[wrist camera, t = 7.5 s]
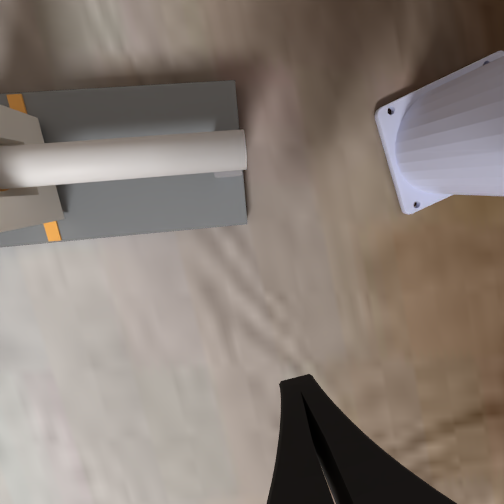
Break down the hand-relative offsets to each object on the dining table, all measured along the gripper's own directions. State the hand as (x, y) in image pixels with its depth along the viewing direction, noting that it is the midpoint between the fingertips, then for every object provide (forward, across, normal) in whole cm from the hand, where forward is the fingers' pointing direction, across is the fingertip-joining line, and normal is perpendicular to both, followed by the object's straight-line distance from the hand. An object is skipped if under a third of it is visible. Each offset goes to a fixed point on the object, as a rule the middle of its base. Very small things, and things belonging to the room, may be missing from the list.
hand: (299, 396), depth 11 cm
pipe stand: (+10, +9, -12) cm, 18 cm away
